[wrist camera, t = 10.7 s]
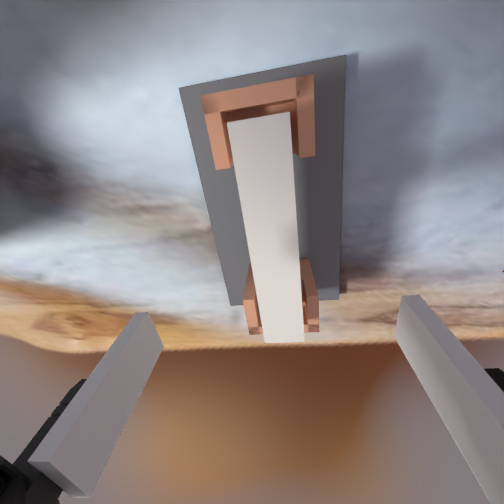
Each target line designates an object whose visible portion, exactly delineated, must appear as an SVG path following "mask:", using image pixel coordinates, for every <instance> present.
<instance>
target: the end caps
mask: <svg viewBox="0 0 504 504" xmlns="http://www.w3.org/2000/svg"><path fill="white" fill-rule="evenodd" d="M345 64H346V55H343V56H338V57H332V58H327V59H322V60H317V61H312V62H307V63H302V64H297V65H292V66H287V67H282V68H277V69H272V70H267V71H262V72H257V73H252V74H247V75H242V76H237V77H232V78H227V79H222V80H217V81H212V82H206V83H201V84H196V85H191V86H186V87H181V88H179V91H180V96H181V100H182V104H183V108H184V112H185V117H186V121H187V125H188V129H189V133H190V137H191V142H192V146H193V150H194V154H195V158H196V163H197V167H198V171H199V175H200V179H201V183H202V188H203V192H204V196H205V200H206V204H207V209H208V213H209V217H210V221H211V225H212V229H213V234H214V238H215V242H216V246H217V250H218V255H219V259H220V263H221V267H222V271H223V276H224V280H225V284H226V288H227V292H228V296H229V301H230V305H231V306H235V305H244V309H245V314H246V319H247V323H248V328H249V333H250V335H256V334H263V329H262V324H261V318H260V312H259V306H258V301H257V295H256V289H255V283H254V278H253V272H252V266H251V260H250V255H249V249H248V243H247V237H246V232H245V226H244V220H243V214H242V209H241V203H240V197H239V191H238V186H237V180H236V174H235V168H234V162H233V157H232V151H231V145H230V139H229V134H228V128H227V122H233V121H239V120H245V119H250V118H256V117H262V116H267V115H273V114H279V113H285V112H290V124H291V139H292V154H293V170H294V185H295V200H296V216H297V231H298V246H299V262H300V277H301V292H302V308H303V323H304V333H305V332H319V301H320V300H337V299H339V278H340V243H341V207H342V171H343V135H344V100H345Z"/></svg>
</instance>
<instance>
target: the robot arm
mask: <svg viewBox="0 0 504 504" xmlns="http://www.w3.org/2000/svg"><path fill="white" fill-rule="evenodd" d="M394 337H395V339H396V341H397V342H398V344H399V346H400V347H401V349H402V351H403V352H404V354H405V356H406V358H407V360H408V361H409V363H410V365H411V367H412V368H413V370H414V372H415V373H416V375H417V377H418V379H419V380H420V382H421V384H422V386H423V387H424V389H425V391H426V392H427V394H428V396H429V398H430V399H431V401H432V403H433V404H434V406H435V408H436V410H437V412H438V413H439V415H440V417H441V418H442V420H443V422H444V424H445V425H446V427H447V429H448V430H449V432H450V434H451V436H452V437H453V439H454V441H455V443H456V444H457V446H458V448H459V449H460V451H461V453H462V455H463V457H464V458H465V460H466V462H467V463H468V465H469V467H470V469H471V470H472V472H473V474H474V476H475V477H476V479H477V481H478V482H479V484H480V486H481V488H482V489H483V491H484V493H485V495H486V496H487V498H488V500H489V502H490V503H491V504H504V372H503V371H502V370H500V369H499V368H495V369H483V368H482V367H481V366H480V365H479V363H478V362H477V361H476V360H475V359H474V358H473V357H472V355H471V354H470V353H469V352H468V351H467V349H466V348H464V346H463V345H462V344H461V343H460V341H459V340H458V339H457V338H456V337H455V336H454V334H453V333H452V332H451V331H450V330H449V329H448V328H447V326H446V325H445V324H444V323H443V322H442V321H441V319H440V318H439V317H438V316H437V315H436V314H435V313H434V311H433V310H432V309H431V308H430V307H429V306H428V304H427V303H426V302H425V301H424V300H423V299H422V298H421V296H420V295H407V296H402V298H401V303H400V309H399V314H398V320H397V325H396V331H395V336H394ZM163 347H164V346H163V344H162V342H161V340H160V337H159V335H158V333H157V331H156V329H155V326H154V324H153V322H152V320H151V318H150V315H149V313H148V312H142V313H135V314H134V315H133V317H132V318H131V320H130V321H129V322H128V324H127V325H126V326H125V328H124V329H123V331H122V332H121V333H120V335H119V336H118V337H117V339H116V340H115V341H114V343H113V344H112V346H111V347H110V348H109V350H108V351H107V352H106V354H105V355H104V357H103V358H102V359H101V361H100V362H99V363H98V365H97V366H96V368H95V369H94V371H93V372H92V373H91V375H90V376H89V377H88V379H82V380H81V381H79V382H78V383H77V384H76V385H75V386H74V387H73V388H72V389H70V391H69V392H68V393H67V394H66V396H65V397H64V398H63V400H62V401H61V402H60V405H59V406H57V407H56V409H55V410H54V411H53V413H52V414H51V417H49V418H48V419H47V421H46V422H45V423H44V424H43V426H42V427H41V428H40V430H39V431H38V432H37V434H36V435H35V436H34V438H33V439H32V440H31V441H30V443H29V444H28V445H27V447H26V448H25V449H24V451H23V452H22V453H21V454H20V456H19V457H18V458H17V460H16V461H15V462H14V463H13V464H11V463H10V462H8V461H7V460H6V459H4V458H3V457H1V456H0V504H60V503H59V500H58V498H59V496H60V494H61V492H62V491H64V492H66V493H67V494H68V495H69V496H71V497H83V498H90V496H91V494H92V492H93V490H94V488H95V486H96V484H97V482H98V480H99V478H100V476H101V474H102V472H103V470H104V467H105V466H106V463H107V461H108V459H109V458H110V455H111V453H112V451H113V449H114V447H115V445H116V443H117V441H118V439H119V437H120V435H121V433H122V431H123V429H124V427H125V425H126V423H127V420H128V419H129V417H130V414H131V412H132V410H133V408H134V406H135V404H136V402H137V400H138V398H139V396H140V394H141V392H142V390H143V388H144V386H145V384H146V382H147V380H148V378H149V376H150V374H151V372H152V370H153V368H154V366H155V364H156V361H157V359H158V357H159V355H160V353H161V351H162V349H163Z"/></svg>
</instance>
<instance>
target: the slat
mask: <svg viewBox="0 0 504 504" xmlns="http://www.w3.org/2000/svg"><path fill="white" fill-rule="evenodd" d="M227 128H228V134H229V139H230V145H231V151H232V157H233V162H234V168H235V174H236V180H237V186H238V191H239V197H240V203H241V209H242V214H243V220H244V226H245V232H246V237H247V243H248V249H249V255H250V260H251V266H252V272H253V278H254V283H255V289H256V295H257V301H258V306H259V312H260V318H261V324H262V329H263V335H264V341H265V343H282V342H305V338H304V323H303V308H302V292H301V277H300V262H299V246H298V231H297V216H296V200H295V185H294V170H293V154H292V139H291V124H290V112H285V113H279V114H273V115H267V116H262V117H256V118H250V119H245V120H239V121H233V122H227Z"/></svg>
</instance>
